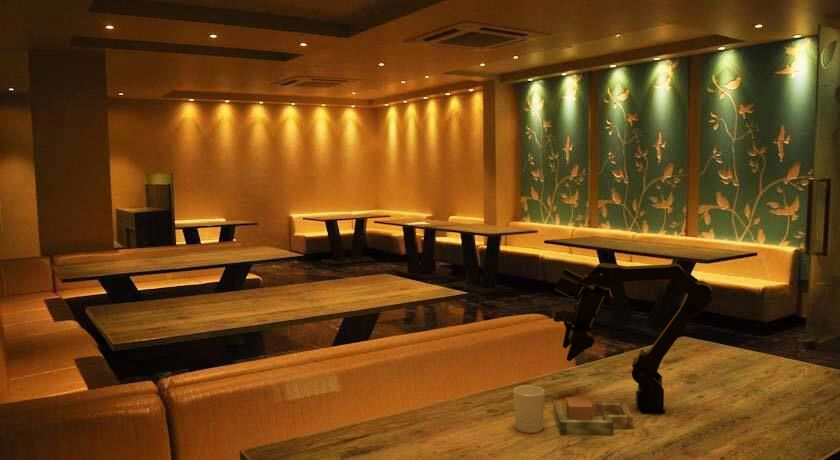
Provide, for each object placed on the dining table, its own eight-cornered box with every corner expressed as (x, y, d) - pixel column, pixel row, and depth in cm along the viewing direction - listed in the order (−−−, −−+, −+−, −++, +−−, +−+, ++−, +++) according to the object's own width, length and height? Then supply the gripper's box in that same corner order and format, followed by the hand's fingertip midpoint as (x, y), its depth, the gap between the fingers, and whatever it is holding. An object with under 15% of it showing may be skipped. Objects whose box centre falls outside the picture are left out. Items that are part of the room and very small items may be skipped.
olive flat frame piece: (623, 411, 181) (623, 400, 181) (636, 435, 165) (637, 422, 165) (553, 411, 183) (553, 399, 182) (560, 434, 167) (560, 421, 167)
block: (588, 411, 182) (588, 397, 182) (592, 421, 175) (592, 406, 175) (566, 411, 183) (566, 397, 183) (569, 421, 176) (569, 406, 176)
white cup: (544, 435, 167) (544, 396, 166) (512, 433, 168) (512, 394, 167) (544, 423, 174) (544, 386, 173) (514, 421, 176) (514, 384, 175)
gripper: (557, 285, 195) (537, 331, 198) (565, 305, 177) (542, 356, 180) (593, 299, 195) (571, 345, 198) (604, 321, 176) (580, 371, 180)
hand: (566, 353), depth 189 cm, fingers open, 9 cm apart
